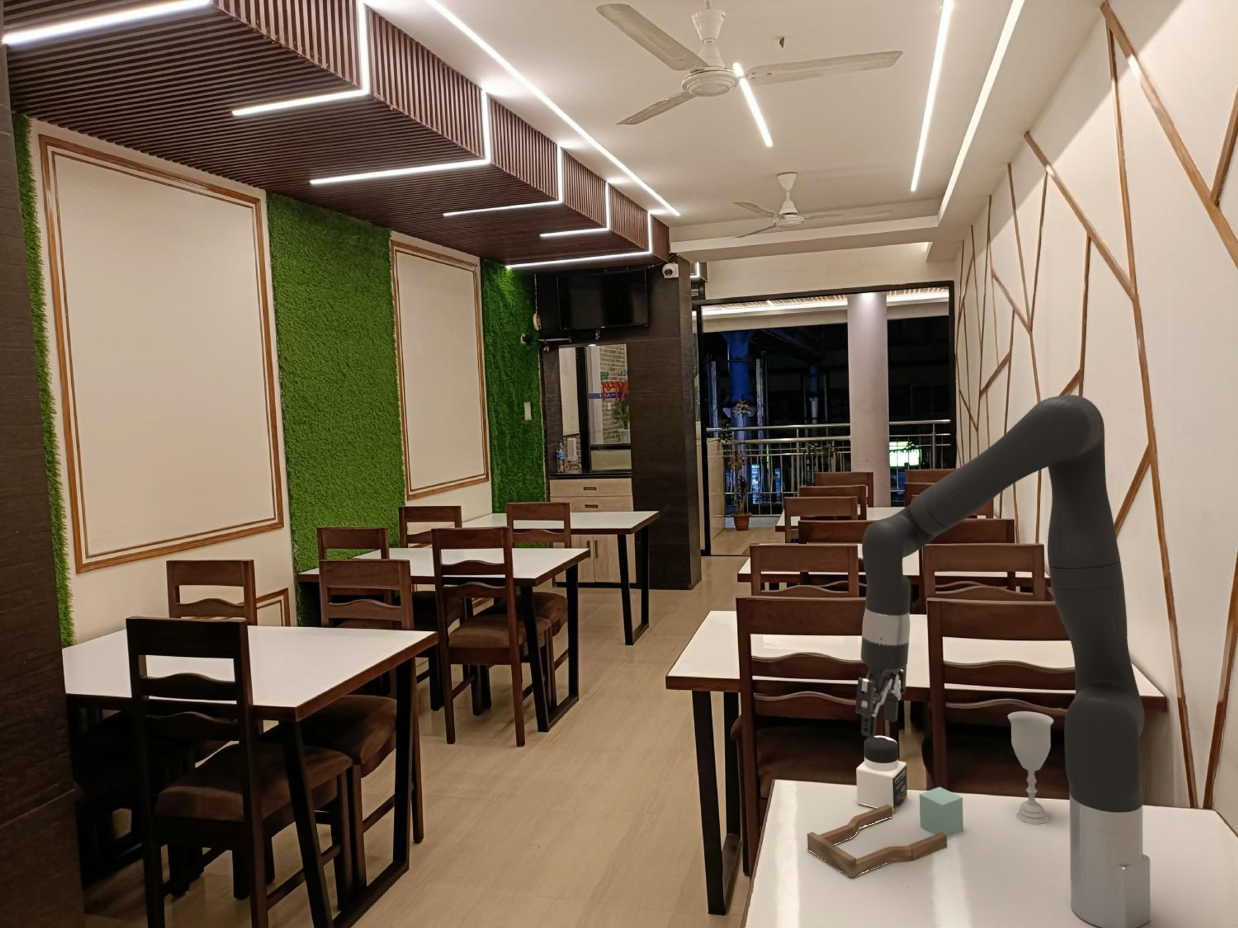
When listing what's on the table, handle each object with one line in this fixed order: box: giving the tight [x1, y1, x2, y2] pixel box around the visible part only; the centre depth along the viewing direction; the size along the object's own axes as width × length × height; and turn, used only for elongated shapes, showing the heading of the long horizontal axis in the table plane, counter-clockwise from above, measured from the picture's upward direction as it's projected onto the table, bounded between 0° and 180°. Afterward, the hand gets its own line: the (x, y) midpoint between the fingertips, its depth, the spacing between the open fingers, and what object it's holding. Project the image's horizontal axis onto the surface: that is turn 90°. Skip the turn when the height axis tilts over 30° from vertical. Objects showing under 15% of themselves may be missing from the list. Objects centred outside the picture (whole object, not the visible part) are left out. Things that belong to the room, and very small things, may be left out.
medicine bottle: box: [855, 735, 908, 814], centre depth 165 cm, size 7×7×12 cm
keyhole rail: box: [806, 804, 948, 879], centre depth 149 cm, size 13×20×3 cm
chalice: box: [1007, 711, 1054, 825], centre depth 156 cm, size 7×7×18 cm
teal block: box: [918, 786, 964, 838], centre depth 154 cm, size 5×5×6 cm
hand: (879, 727), depth 149 cm, fingers open, 8 cm apart
